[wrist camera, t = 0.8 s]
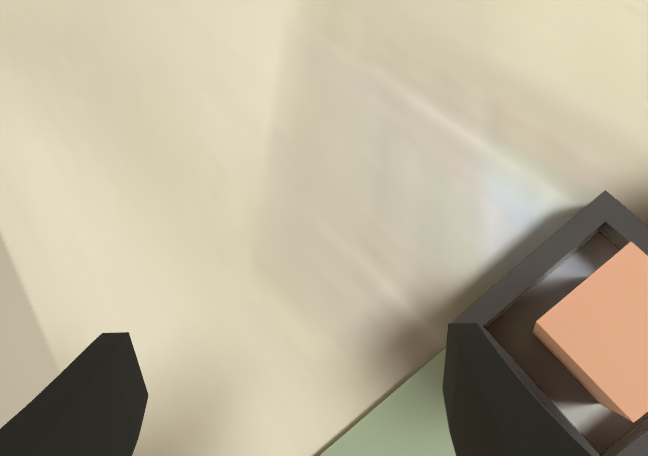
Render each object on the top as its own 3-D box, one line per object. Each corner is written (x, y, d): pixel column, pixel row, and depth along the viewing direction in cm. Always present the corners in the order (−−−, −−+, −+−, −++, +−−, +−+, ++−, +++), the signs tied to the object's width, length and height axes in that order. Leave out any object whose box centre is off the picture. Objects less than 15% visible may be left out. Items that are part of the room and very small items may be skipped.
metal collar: (773, 353, 22) (795, 352, 20) (600, 489, 23) (606, 501, 21) (599, 202, 26) (605, 189, 24) (455, 326, 27) (450, 323, 25)
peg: (672, 344, 23) (739, 337, 16) (599, 403, 24) (633, 422, 16) (599, 276, 25) (631, 241, 18) (532, 332, 25) (536, 321, 18)
